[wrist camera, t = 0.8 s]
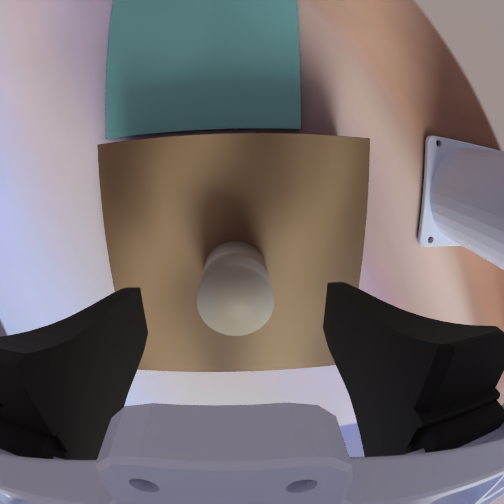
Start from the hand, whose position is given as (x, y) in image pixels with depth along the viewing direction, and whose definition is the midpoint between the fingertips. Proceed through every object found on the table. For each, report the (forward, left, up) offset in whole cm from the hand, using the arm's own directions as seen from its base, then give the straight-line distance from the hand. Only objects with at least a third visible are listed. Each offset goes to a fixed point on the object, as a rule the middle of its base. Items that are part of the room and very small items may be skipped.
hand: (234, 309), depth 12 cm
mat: (+2, -13, -9) cm, 16 cm away
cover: (0, 0, -9) cm, 9 cm away
